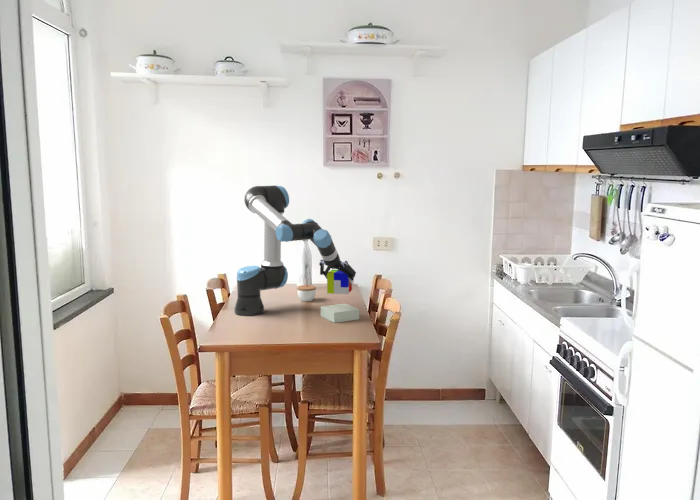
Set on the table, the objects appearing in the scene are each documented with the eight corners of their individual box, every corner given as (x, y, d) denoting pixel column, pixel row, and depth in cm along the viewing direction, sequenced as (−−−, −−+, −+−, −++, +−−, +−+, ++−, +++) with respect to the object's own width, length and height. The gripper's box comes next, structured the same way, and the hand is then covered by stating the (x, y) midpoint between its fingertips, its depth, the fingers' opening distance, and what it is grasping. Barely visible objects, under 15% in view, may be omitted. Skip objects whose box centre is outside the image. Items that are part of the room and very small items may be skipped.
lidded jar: (313, 297, 317) (313, 281, 315) (318, 301, 307) (318, 285, 305) (295, 299, 313) (295, 282, 312) (299, 303, 303) (299, 286, 302)
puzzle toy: (347, 294, 265) (347, 273, 264) (327, 293, 267) (327, 273, 266) (351, 290, 275) (351, 270, 273) (332, 289, 277) (332, 269, 276)
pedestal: (320, 316, 275) (320, 306, 275) (345, 312, 282) (345, 303, 282) (334, 322, 263) (334, 312, 263) (359, 319, 270) (359, 309, 270)
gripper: (305, 260, 258) (318, 287, 275) (351, 263, 250) (362, 290, 267) (309, 248, 262) (322, 274, 279) (355, 250, 255) (365, 277, 271)
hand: (341, 282), depth 273 cm, fingers closed on puzzle toy, 11 cm apart
